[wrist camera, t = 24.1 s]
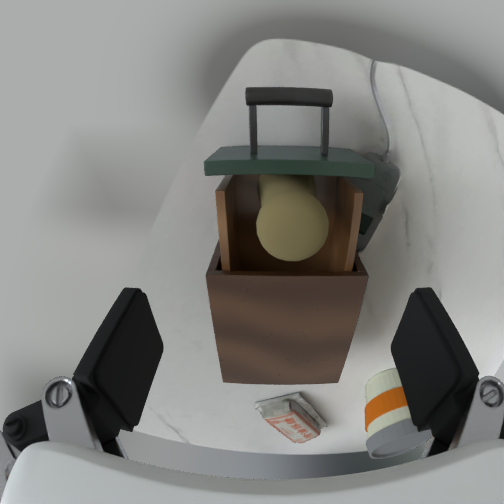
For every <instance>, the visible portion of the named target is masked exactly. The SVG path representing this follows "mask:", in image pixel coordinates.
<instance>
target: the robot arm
mask: <svg viewBox="0 0 504 504" xmlns="http://www.w3.org/2000/svg"><path fill="white" fill-rule="evenodd" d="M162 353H163V342H162V339H161V336H160V334H159V331H158V328H157V325H156V322H155V320H154V317H153V314H152V311H151V308H150V305H149V302H148V299H147V296H146V294H145V293H142V290H141V289H139V288H124V289H123V290H122V292H121V293H120V295H119V296H118V298H117V300H116V301H115V303H114V304H113V306H112V308H111V309H110V311H109V312H108V314H107V316H106V317H105V319H104V321H103V322H102V324H101V326H100V327H99V329H98V331H97V332H96V334H95V336H94V338H93V339H92V341H91V343H90V345H89V346H88V348H87V350H86V352H85V353H84V355H83V357H82V359H81V361H80V363H79V365H78V366H77V368H76V370H75V372H74V374H73V375H74V376H73V378H72V380H71V379H70V378H68V377H65V376H59V377H55V378H53V379H52V380H50V381H49V382H48V383H47V384H46V385H45V387H44V388H43V391H42V395H41V400H40V401H38V402H36V403H33V404H31V405H28V406H26V407H24V408H22V409H20V410H17V411H15V412H13V413H11V414H10V415H9V416H8V417H7V418H6V420H5V422H4V425H3V432H1V431H0V504H504V385H503V383H502V382H501V381H500V380H499V379H497V378H496V377H493V376H485V377H483V378H481V379H480V380H479V378H478V375H479V372H478V369H477V367H476V365H475V363H474V361H473V359H472V357H471V355H470V353H469V351H468V349H467V347H466V345H465V344H464V342H463V340H462V338H461V336H460V334H459V332H458V331H457V329H456V327H455V325H454V324H453V322H452V320H451V318H450V317H449V315H448V313H447V312H446V310H445V308H444V307H443V305H442V303H441V302H440V300H439V298H438V297H437V295H436V294H435V292H434V291H433V289H432V288H430V287H428V288H417V289H415V291H414V292H413V293H411V295H410V297H409V300H408V303H407V305H406V308H405V311H404V313H403V316H402V319H401V321H400V324H399V326H398V329H397V331H396V334H395V336H394V338H393V341H392V343H391V353H392V356H393V359H394V362H395V365H396V368H397V371H398V374H399V377H400V381H401V384H402V387H403V391H404V394H405V398H406V401H407V405H408V408H409V412H410V416H411V419H412V423H413V425H414V426H417V430H418V432H422V431H425V430H429V429H431V433H432V436H431V438H430V440H429V443H428V445H427V447H426V449H425V451H424V453H423V455H422V457H421V459H420V460H416V461H412V462H409V463H405V464H401V465H397V466H393V467H389V468H384V469H379V470H374V471H368V472H362V473H356V474H350V475H341V476H333V477H323V478H310V479H287V480H286V479H285V480H266V479H264V480H262V479H242V478H229V477H218V476H209V475H202V474H195V473H188V472H182V471H177V470H171V469H167V468H162V467H157V466H153V465H149V464H145V463H141V462H137V461H133V460H129V458H128V456H127V454H126V452H125V450H124V448H123V446H122V443H121V441H120V439H119V437H118V434H119V431H120V429H122V430H126V431H130V432H132V431H133V428H134V426H137V425H138V424H139V421H140V418H141V415H142V412H143V409H144V406H145V403H146V400H147V397H148V394H149V391H150V388H151V385H152V382H153V379H154V376H155V373H156V370H157V367H158V364H159V362H160V359H161V356H162Z"/></svg>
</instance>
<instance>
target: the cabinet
mask: <svg viewBox="0 0 504 504" xmlns="http://www.w3.org/2000/svg"><path fill="white" fill-rule="evenodd" d="M368 277H369V276H368V274H367V272H366V269H365V267H364V265H363V263H362V261H361V259H360V257H359V255H358V253H357V251H356V253H355V259H354V264H353V270H352V272H294V271H222V263H221V253H220V242H219V240H218V243H217V246H216V248H215V251H214V254H213V256H212V259H211V262H210V265H209V267H208V270H207V273H206V281H207V288H208V295H209V302H210V308H211V315H212V321H213V327H214V333H215V339H216V345H217V351H218V357H219V362H220V368H221V373H222V379H223V382H225V383H242V384H274V385H294V384H326V383H338V381H339V378H340V375H341V373H342V370H343V367H344V364H345V361H346V358H347V354H348V351H349V348H350V345H351V342H352V338H353V335H354V331H355V328H356V324H357V321H358V317H359V314H360V310H361V306H362V302H363V298H364V294H365V290H366V286H367V281H368Z"/></svg>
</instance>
